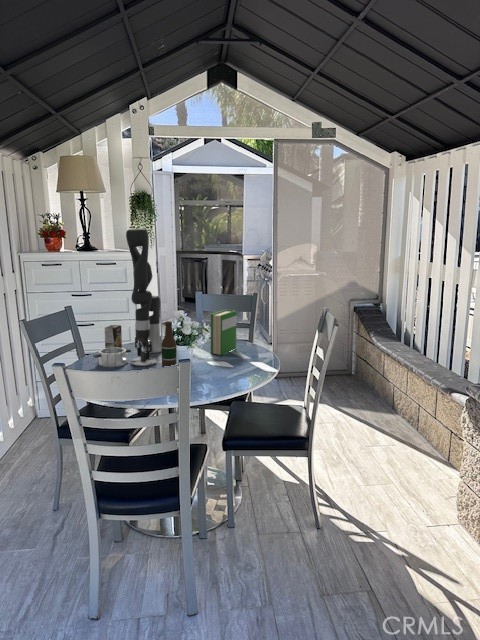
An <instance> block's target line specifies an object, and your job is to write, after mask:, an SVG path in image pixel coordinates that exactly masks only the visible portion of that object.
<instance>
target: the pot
mask: <svg viewBox="0 0 480 640" xmlns="http://www.w3.org/2000/svg"><path fill="white" fill-rule="evenodd" d="M131 352H132V350H131V349H130V348H124V347H122V348H118V347H112V348H105V347H104V348H102V349H98V353H96V354H95V353H94V354H93V356H92V357H93V358H94V359H97V358H98V366H100V367H102V366H103V368H118V367H122V366H124V365H127V353H131Z"/></svg>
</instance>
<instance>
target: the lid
mask: <svg viewBox="0 0 480 640" xmlns="http://www.w3.org/2000/svg"><path fill="white" fill-rule="evenodd" d="M156 363H157V358H154V357H151V356H149V359H148V360H146V359H145V351H144V350H143V351H141V356H139V357H136V358H132V359H130V364H131V365H132V366H136V367H148V366H151V365H154V364H156Z"/></svg>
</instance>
